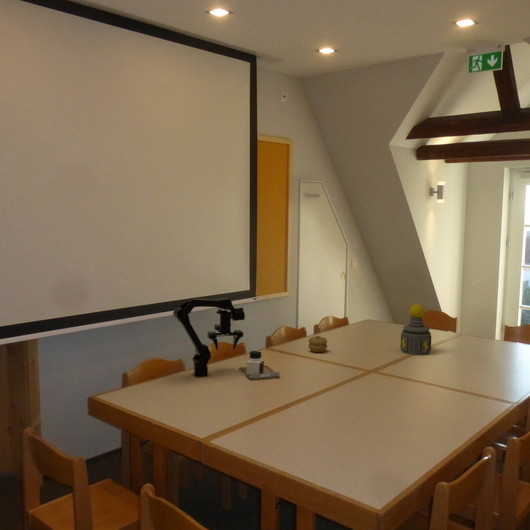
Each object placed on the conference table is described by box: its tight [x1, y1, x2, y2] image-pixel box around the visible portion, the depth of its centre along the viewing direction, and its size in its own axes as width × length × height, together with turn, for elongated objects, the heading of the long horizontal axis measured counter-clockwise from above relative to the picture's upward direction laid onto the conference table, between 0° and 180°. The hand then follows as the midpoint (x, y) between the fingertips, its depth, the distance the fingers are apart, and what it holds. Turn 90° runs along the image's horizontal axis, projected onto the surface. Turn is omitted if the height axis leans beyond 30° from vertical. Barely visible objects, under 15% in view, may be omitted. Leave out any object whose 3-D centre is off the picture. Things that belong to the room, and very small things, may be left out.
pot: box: [307, 335, 328, 353], centre depth 354 cm, size 12×12×10 cm
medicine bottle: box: [246, 350, 265, 375], centre depth 301 cm, size 7×7×12 cm
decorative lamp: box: [400, 303, 432, 356], centre depth 355 cm, size 19×19×30 cm
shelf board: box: [238, 364, 281, 381], centre depth 305 cm, size 16×22×1 cm
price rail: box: [249, 371, 281, 379], centre depth 295 cm, size 16×2×2 cm, turn 108°
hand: (225, 350), depth 307 cm, fingers open, 9 cm apart
